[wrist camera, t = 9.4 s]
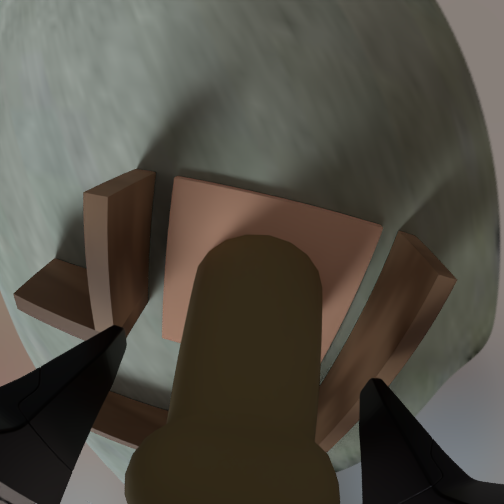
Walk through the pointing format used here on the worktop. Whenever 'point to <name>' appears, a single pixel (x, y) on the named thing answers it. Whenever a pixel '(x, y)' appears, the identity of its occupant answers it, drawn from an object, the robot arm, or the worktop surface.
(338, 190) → the worktop surface
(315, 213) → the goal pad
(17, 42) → the worktop surface
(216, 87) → the worktop surface
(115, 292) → the bent channel
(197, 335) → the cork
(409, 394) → the worktop surface
